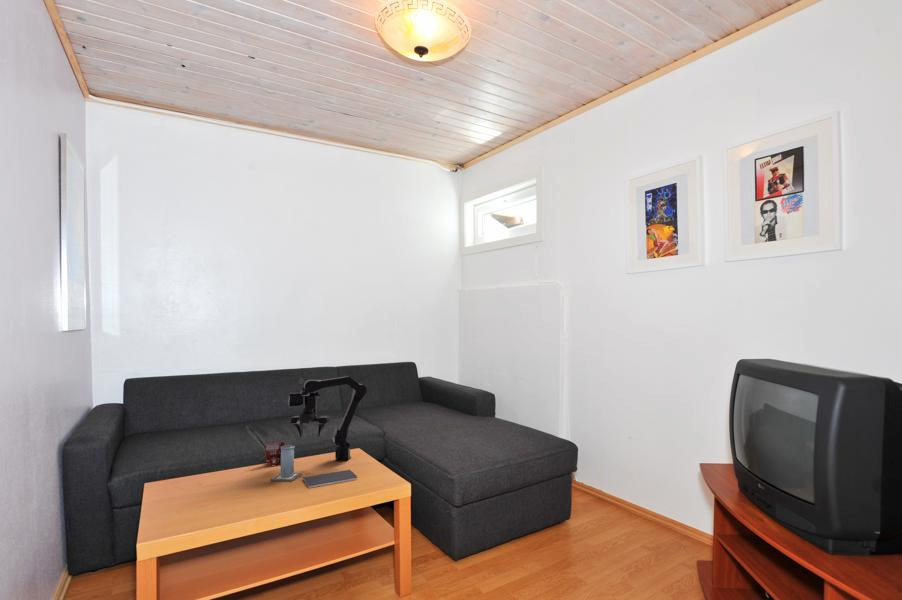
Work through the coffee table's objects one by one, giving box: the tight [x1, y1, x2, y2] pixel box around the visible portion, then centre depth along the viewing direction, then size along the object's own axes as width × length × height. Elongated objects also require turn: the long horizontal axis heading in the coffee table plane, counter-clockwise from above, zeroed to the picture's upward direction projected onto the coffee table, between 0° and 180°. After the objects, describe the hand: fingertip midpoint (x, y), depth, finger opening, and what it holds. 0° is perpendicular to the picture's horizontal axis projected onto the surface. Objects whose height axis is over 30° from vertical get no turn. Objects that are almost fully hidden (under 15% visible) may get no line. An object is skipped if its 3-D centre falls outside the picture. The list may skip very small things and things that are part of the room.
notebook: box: [302, 469, 358, 489], centre depth 204 cm, size 13×2×21 cm
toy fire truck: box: [264, 441, 287, 467], centre depth 231 cm, size 7×12×10 cm, turn 125°
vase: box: [280, 444, 296, 478], centre depth 209 cm, size 6×6×13 cm
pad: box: [270, 472, 303, 482], centre depth 208 cm, size 10×10×1 cm
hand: (310, 437), depth 230 cm, fingers open, 9 cm apart
